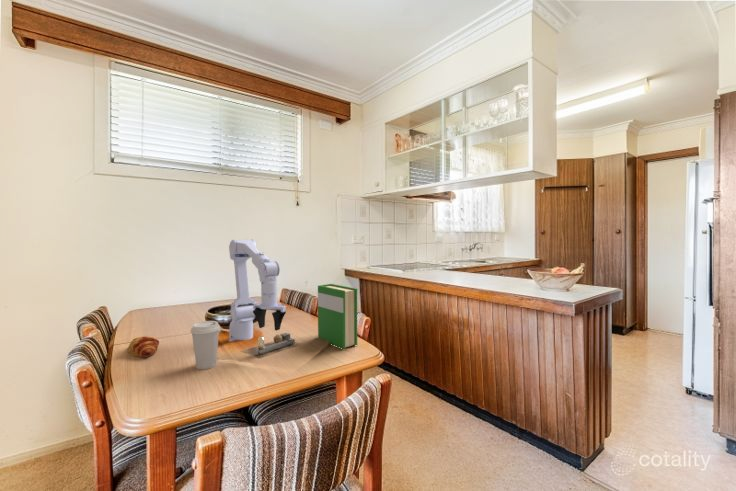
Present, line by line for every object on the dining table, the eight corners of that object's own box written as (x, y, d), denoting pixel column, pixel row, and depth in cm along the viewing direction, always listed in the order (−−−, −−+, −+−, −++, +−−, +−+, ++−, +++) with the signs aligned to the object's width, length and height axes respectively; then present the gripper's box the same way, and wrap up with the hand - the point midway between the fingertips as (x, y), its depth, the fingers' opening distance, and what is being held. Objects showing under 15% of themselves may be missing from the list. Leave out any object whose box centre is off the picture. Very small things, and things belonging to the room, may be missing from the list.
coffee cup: (201, 373, 110) (200, 329, 109) (185, 367, 115) (184, 325, 114) (226, 363, 118) (226, 322, 117) (211, 358, 123) (210, 319, 122)
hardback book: (357, 345, 136) (357, 288, 135) (343, 350, 131) (343, 290, 130) (331, 336, 149) (331, 283, 148) (318, 339, 144) (317, 285, 143)
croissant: (130, 355, 135) (118, 341, 133) (154, 339, 142) (143, 324, 139) (141, 369, 121) (128, 353, 118) (168, 350, 127) (157, 334, 124)
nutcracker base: (283, 340, 143) (283, 331, 143) (301, 346, 135) (301, 336, 135) (241, 354, 127) (241, 343, 127) (258, 361, 120) (258, 350, 120)
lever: (291, 342, 136) (291, 327, 136) (294, 344, 135) (294, 328, 135) (257, 354, 124) (256, 337, 124) (260, 355, 122) (260, 338, 122)
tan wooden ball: (271, 344, 135) (271, 335, 135) (276, 341, 138) (276, 333, 138) (279, 345, 134) (279, 336, 134) (284, 342, 137) (284, 333, 137)
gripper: (246, 293, 125) (247, 329, 125) (277, 296, 119) (277, 333, 119) (260, 290, 131) (260, 324, 132) (289, 293, 125) (289, 328, 126)
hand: (269, 328), depth 126 cm, fingers open, 7 cm apart
